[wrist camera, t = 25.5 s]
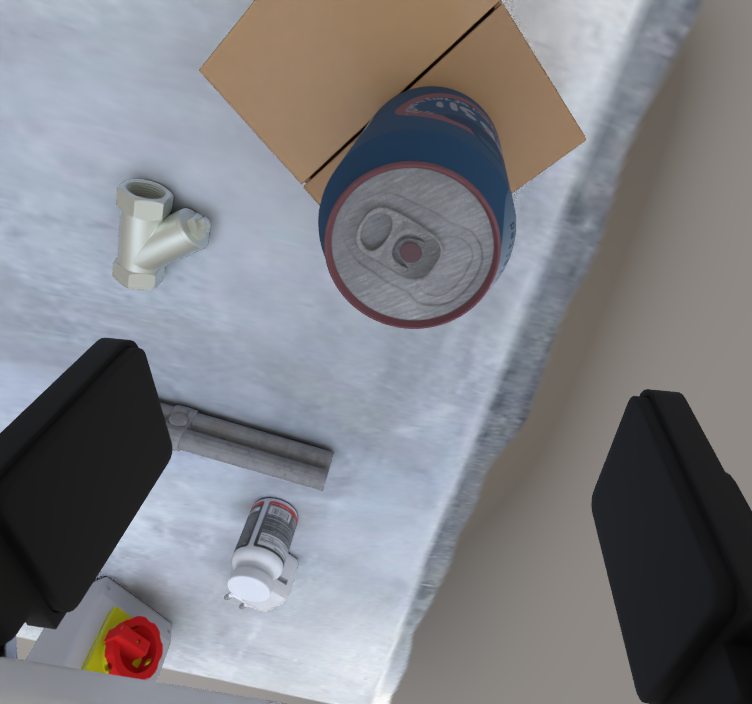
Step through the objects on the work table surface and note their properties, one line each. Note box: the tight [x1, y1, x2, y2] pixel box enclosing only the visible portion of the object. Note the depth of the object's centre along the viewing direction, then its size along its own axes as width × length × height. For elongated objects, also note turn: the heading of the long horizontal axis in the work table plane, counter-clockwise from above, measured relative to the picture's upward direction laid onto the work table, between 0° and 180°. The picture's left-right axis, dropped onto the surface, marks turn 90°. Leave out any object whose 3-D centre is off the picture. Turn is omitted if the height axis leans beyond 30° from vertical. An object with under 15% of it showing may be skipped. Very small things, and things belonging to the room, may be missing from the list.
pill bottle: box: [227, 498, 298, 602], centre depth 58 cm, size 6×6×10 cm
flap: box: [199, 0, 499, 184], centre depth 24 cm, size 7×13×1 cm, turn 131°
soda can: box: [318, 86, 516, 329], centre depth 22 cm, size 7×7×12 cm
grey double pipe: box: [160, 403, 334, 491], centre depth 52 cm, size 26×3×5 cm, turn 75°
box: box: [304, 0, 586, 205], centre depth 29 cm, size 15×13×10 cm
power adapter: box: [224, 554, 298, 612], centre depth 67 cm, size 11×5×6 cm, turn 136°
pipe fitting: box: [112, 179, 211, 290], centre depth 41 cm, size 8×4×7 cm
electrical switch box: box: [26, 577, 172, 682], centre depth 72 cm, size 15×15×20 cm
